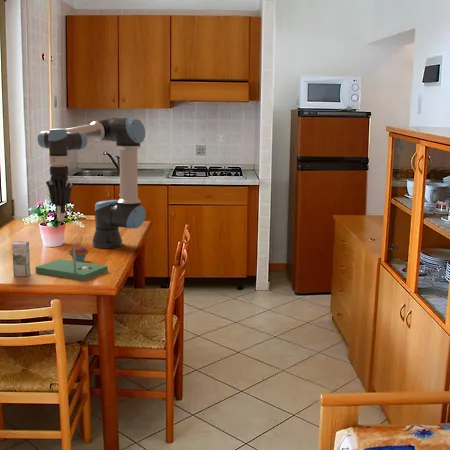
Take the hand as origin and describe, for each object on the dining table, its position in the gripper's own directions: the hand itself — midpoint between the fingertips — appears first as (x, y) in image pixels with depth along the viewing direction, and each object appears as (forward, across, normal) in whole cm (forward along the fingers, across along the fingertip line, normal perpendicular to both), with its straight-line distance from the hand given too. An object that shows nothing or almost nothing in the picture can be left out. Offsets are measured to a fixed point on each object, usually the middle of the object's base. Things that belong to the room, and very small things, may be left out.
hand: (61, 220), depth 271 cm
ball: (+21, +12, 0) cm, 24 cm away
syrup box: (+23, -10, -14) cm, 28 cm away
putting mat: (+22, +5, 0) cm, 23 cm away
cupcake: (+23, -4, +16) cm, 28 cm away
